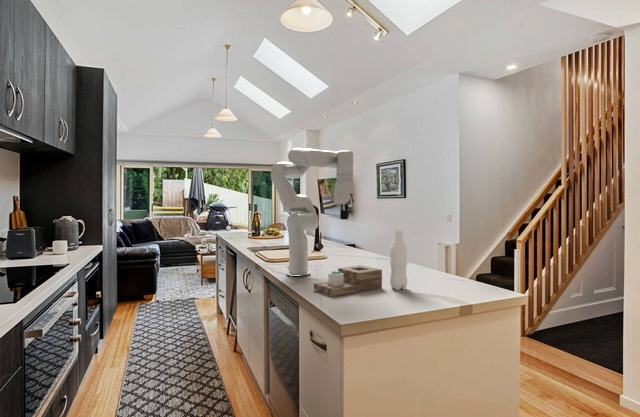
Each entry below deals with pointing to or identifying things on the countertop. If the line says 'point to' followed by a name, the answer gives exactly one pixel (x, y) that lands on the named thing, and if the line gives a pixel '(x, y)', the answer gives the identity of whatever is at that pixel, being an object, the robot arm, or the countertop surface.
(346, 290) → the wooden stepped block
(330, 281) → the plug
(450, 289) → the countertop surface
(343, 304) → the countertop surface
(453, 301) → the countertop surface
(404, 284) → the water bottle
